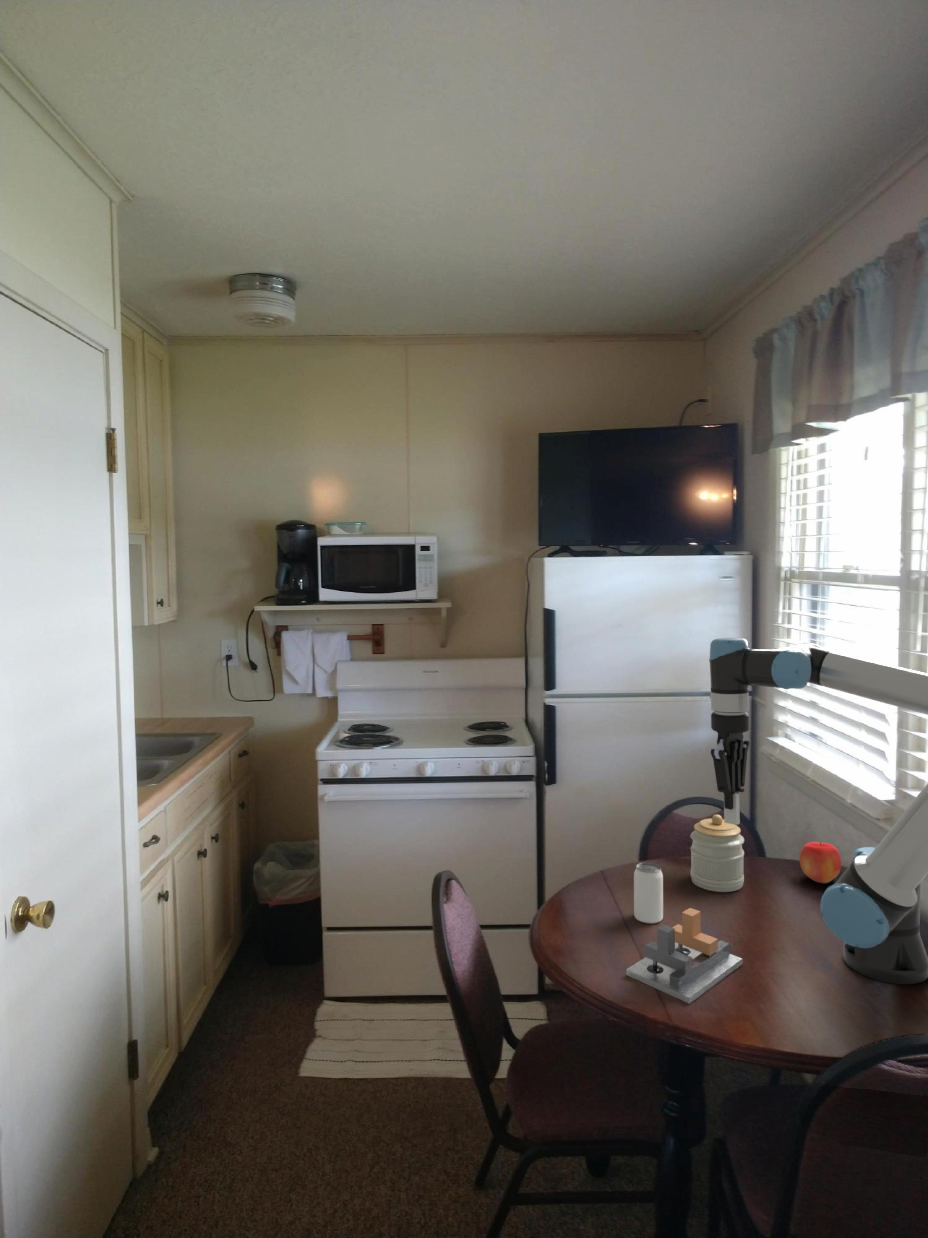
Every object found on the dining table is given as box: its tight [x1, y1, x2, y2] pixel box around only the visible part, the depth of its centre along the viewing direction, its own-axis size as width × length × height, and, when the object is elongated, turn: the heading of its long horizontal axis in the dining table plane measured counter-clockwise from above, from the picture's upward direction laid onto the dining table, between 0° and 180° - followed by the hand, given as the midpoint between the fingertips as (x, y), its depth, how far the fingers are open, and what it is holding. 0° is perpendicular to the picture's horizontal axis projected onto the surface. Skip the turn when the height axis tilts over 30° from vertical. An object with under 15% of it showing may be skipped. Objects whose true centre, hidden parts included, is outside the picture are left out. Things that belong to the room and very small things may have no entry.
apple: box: [799, 841, 842, 884], centre depth 193 cm, size 10×10×10 cm
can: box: [633, 862, 664, 925], centre depth 175 cm, size 6×6×12 cm
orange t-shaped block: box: [671, 907, 719, 956], centre depth 154 cm, size 9×3×9 cm, turn 42°
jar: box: [690, 814, 745, 893], centre depth 194 cm, size 13×13×18 cm
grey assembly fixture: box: [625, 924, 743, 1004], centre depth 152 cm, size 14×20×10 cm
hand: (732, 822), depth 160 cm, fingers closed
